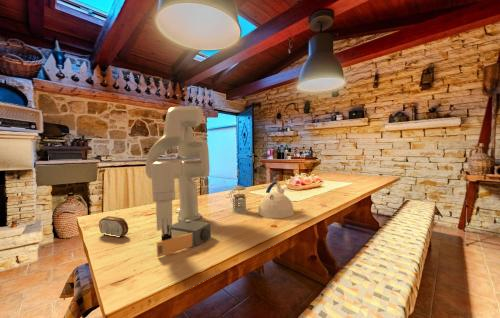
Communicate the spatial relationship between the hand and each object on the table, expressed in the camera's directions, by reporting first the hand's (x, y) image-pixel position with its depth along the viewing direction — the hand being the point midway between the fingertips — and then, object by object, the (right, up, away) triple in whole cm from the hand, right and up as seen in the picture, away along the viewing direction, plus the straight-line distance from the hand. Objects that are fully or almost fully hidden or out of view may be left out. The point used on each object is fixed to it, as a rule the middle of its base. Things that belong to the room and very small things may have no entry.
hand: (166, 244), depth 77 cm
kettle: (+45, 0, +43) cm, 63 cm away
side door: (+4, -2, -1) cm, 4 cm away
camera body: (+6, -2, +11) cm, 12 cm away
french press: (+24, 0, +49) cm, 54 cm away
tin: (-30, -3, +17) cm, 35 cm away
